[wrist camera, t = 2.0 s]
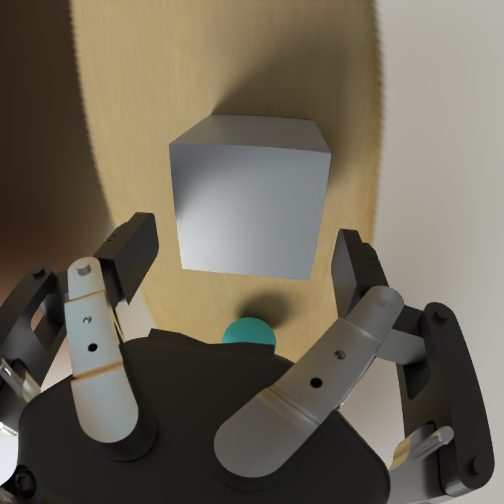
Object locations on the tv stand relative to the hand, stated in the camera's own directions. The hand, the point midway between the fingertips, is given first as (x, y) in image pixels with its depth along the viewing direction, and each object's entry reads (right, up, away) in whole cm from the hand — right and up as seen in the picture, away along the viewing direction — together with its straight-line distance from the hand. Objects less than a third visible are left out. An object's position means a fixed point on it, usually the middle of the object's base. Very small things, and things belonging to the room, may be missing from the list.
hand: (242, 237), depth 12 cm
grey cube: (+1, +5, +6) cm, 8 cm away
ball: (0, -9, +14) cm, 17 cm away
